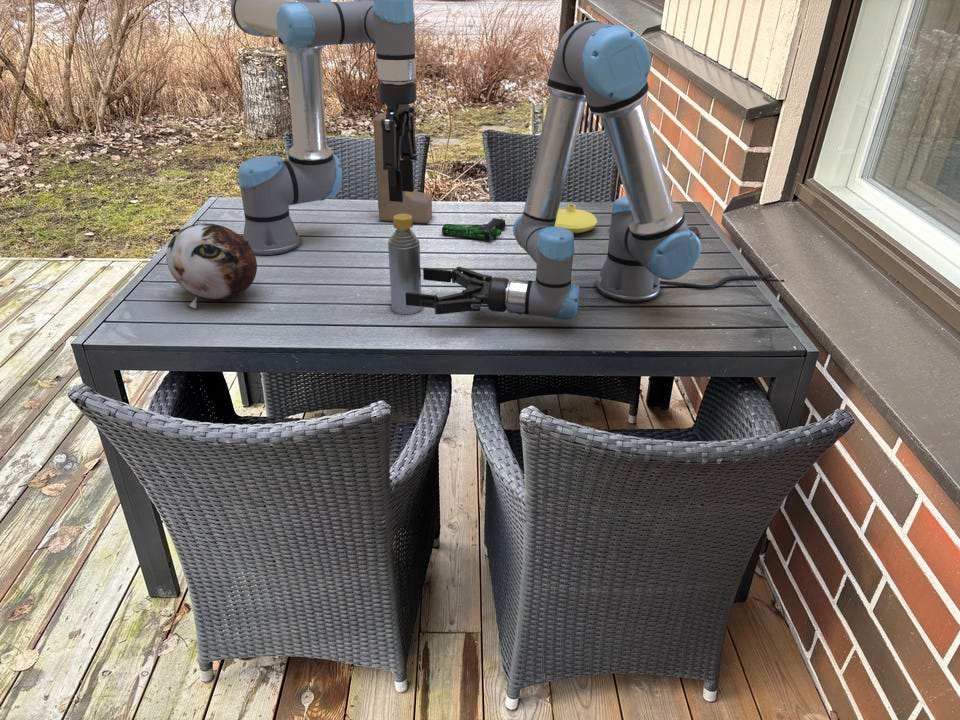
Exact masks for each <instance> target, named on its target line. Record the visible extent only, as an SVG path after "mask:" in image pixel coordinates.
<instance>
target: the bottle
mask: <svg viewBox="0 0 960 720" xmlns="http://www.w3.org/2000/svg"><path fill="white" fill-rule="evenodd" d="M387 251H388V268H389V271H388V272H389V289H390V304H391V305H390V307H391V310H392V312H394V313H396V314H399V315H414V314H416V313H419V312H420V311H421V310H422V308H423V307H419V306H410V305H406V296H405V294H406V292H408V293H417V294H422V273H421V271H422V270H421V241H420V239H419V237H418V236H417V235H416V234H415V233H414V231H413V230H412V228H410V229H406V230H400V229H396V228H395V230H394V232H393V233H392V235H391V236H390V238H389V239H388V242H387Z"/></svg>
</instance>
